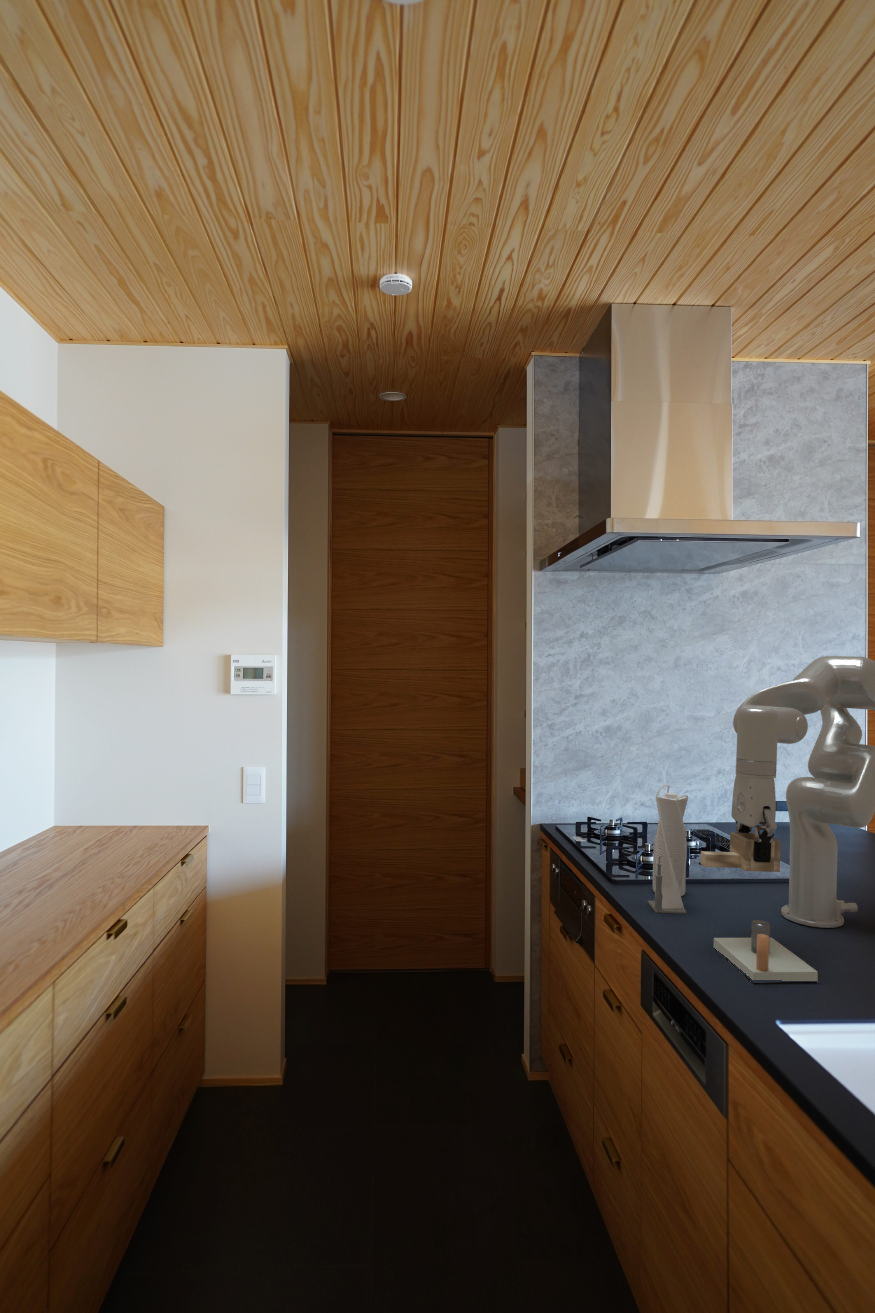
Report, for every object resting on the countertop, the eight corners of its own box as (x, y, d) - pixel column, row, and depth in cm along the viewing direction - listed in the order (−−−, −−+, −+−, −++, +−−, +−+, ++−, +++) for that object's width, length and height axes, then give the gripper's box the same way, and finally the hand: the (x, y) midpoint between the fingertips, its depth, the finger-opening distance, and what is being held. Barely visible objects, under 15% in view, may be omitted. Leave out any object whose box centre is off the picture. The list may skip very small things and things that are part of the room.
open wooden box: (762, 862, 152) (763, 833, 152) (779, 872, 145) (780, 841, 145) (696, 860, 151) (696, 831, 152) (709, 870, 144) (710, 839, 145)
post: (764, 948, 143) (764, 920, 142) (772, 955, 139) (773, 926, 139) (748, 948, 142) (748, 920, 142) (756, 955, 139) (756, 926, 139)
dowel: (764, 966, 134) (765, 934, 134) (770, 971, 132) (771, 938, 132) (754, 967, 134) (754, 934, 134) (759, 971, 132) (760, 938, 132)
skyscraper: (646, 900, 176) (648, 783, 176) (680, 901, 175) (682, 784, 175) (655, 912, 167) (657, 789, 167) (691, 913, 167) (693, 790, 167)
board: (771, 947, 148) (771, 937, 148) (817, 983, 132) (817, 972, 132) (713, 948, 147) (713, 938, 147) (752, 983, 131) (753, 972, 131)
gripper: (719, 762, 157) (716, 846, 157) (757, 774, 140) (754, 868, 139) (754, 763, 157) (751, 847, 157) (796, 775, 140) (793, 869, 140)
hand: (752, 856), depth 148 cm, fingers closed on open wooden box, 7 cm apart
